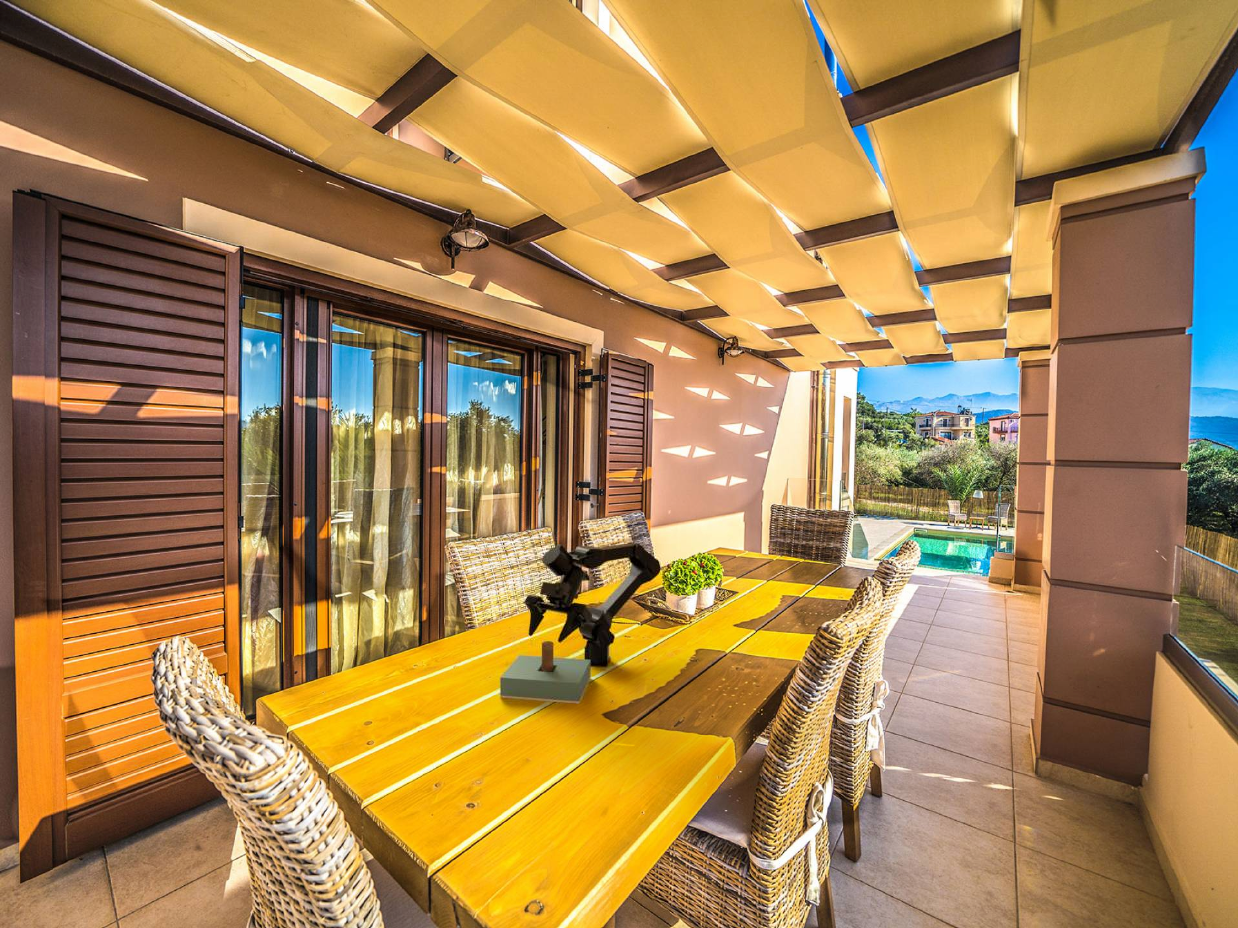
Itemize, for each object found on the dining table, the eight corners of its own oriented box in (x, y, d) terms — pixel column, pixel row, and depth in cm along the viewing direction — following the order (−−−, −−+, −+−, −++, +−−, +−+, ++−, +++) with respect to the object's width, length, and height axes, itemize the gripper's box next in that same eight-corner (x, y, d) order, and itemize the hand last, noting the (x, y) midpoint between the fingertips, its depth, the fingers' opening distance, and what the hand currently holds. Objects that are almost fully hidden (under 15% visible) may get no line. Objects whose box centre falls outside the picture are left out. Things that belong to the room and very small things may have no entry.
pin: (554, 683, 132) (554, 641, 132) (551, 688, 129) (551, 645, 129) (543, 682, 133) (543, 640, 132) (540, 687, 130) (540, 645, 129)
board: (590, 678, 136) (590, 659, 136) (579, 703, 122) (579, 683, 122) (519, 672, 139) (519, 654, 139) (500, 697, 125) (500, 677, 125)
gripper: (528, 565, 138) (501, 616, 128) (587, 573, 129) (562, 629, 120) (545, 587, 145) (520, 637, 136) (602, 596, 136) (579, 651, 127)
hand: (544, 638), depth 129 cm, fingers open, 9 cm apart
